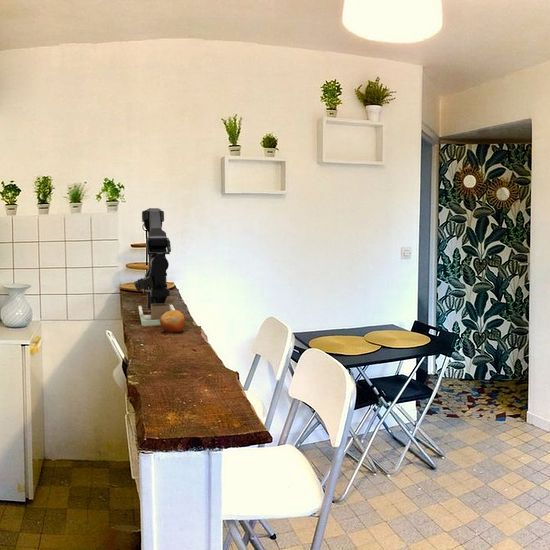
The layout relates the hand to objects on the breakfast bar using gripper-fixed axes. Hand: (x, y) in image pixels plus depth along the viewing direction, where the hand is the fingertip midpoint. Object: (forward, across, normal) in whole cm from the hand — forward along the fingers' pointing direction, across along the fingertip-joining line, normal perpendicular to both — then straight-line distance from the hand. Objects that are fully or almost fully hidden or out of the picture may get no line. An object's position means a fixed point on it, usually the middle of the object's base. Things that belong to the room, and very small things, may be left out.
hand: (159, 312), depth 185 cm
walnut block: (+2, +6, 0) cm, 6 cm away
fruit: (+3, +19, +3) cm, 20 cm away
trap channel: (+3, -5, 0) cm, 6 cm away
